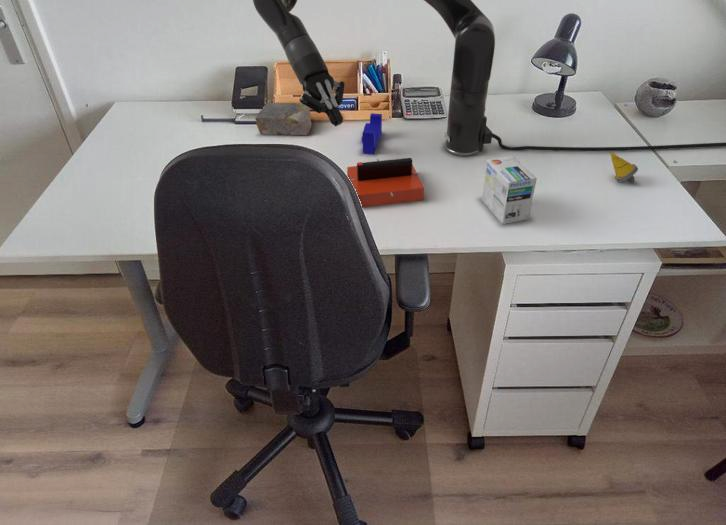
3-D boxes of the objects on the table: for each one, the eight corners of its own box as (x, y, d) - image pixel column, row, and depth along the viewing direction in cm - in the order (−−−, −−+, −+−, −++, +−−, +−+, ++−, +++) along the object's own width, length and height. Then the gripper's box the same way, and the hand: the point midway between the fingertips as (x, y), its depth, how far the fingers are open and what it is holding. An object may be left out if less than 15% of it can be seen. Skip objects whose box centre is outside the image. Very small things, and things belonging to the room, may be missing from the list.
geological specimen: (262, 102, 160) (312, 100, 158) (265, 121, 164) (314, 120, 162) (253, 116, 151) (306, 115, 150) (257, 137, 155) (308, 135, 154)
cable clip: (366, 132, 155) (365, 112, 151) (381, 134, 154) (381, 114, 150) (357, 152, 146) (356, 132, 142) (373, 154, 145) (373, 133, 141)
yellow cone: (629, 192, 130) (605, 160, 128) (620, 189, 135) (596, 158, 133) (648, 177, 129) (624, 145, 127) (638, 174, 134) (614, 143, 132)
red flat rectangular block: (410, 168, 139) (410, 155, 137) (428, 204, 126) (429, 191, 124) (343, 175, 137) (343, 162, 135) (355, 213, 124) (354, 199, 122)
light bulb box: (529, 220, 121) (538, 178, 114) (501, 225, 119) (509, 183, 112) (506, 195, 129) (513, 154, 122) (480, 199, 127) (486, 159, 120)
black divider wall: (410, 172, 131) (411, 156, 128) (411, 175, 129) (412, 159, 127) (357, 178, 129) (356, 162, 126) (358, 181, 128) (357, 165, 125)
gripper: (287, 58, 124) (323, 125, 125) (333, 45, 131) (367, 109, 131) (277, 75, 131) (311, 139, 131) (321, 61, 137) (353, 122, 138)
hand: (339, 124), depth 131 cm, fingers closed
